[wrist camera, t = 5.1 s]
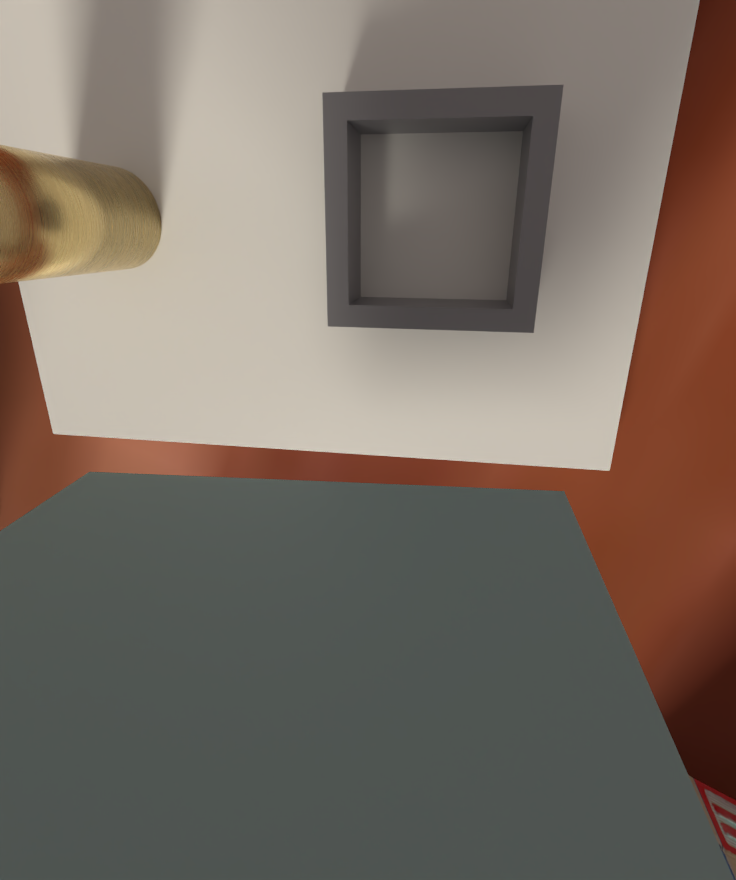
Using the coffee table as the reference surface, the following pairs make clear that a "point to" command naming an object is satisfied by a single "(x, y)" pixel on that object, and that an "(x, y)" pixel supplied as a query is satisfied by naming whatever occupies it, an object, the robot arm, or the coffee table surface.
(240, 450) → the coffee table surface
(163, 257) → the board
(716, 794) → the stack of blocks
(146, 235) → the pin
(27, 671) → the block
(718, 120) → the coffee table surface
